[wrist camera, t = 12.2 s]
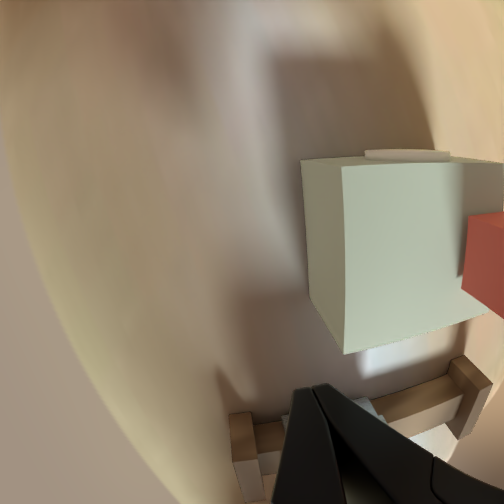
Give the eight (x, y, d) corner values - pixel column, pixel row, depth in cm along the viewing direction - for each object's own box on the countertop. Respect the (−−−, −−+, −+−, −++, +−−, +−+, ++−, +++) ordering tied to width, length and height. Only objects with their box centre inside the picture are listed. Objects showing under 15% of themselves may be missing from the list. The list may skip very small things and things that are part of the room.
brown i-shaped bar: (464, 354, 17) (493, 383, 14) (448, 404, 19) (470, 433, 15) (228, 414, 16) (232, 462, 13) (240, 460, 18) (245, 502, 14)
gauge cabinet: (433, 273, 15) (488, 312, 11) (309, 297, 14) (343, 355, 10) (436, 148, 13) (504, 155, 9) (299, 152, 12) (340, 155, 8)
